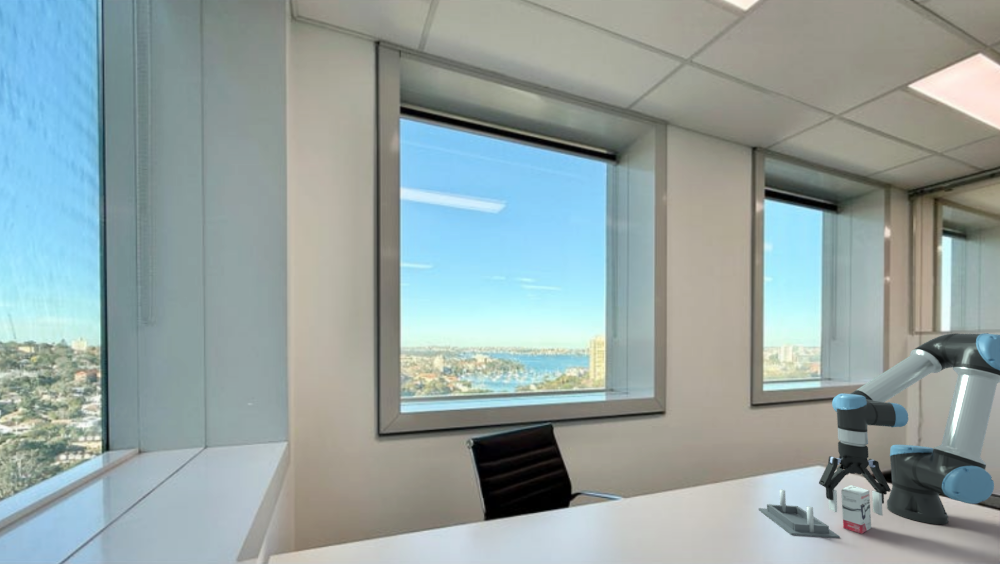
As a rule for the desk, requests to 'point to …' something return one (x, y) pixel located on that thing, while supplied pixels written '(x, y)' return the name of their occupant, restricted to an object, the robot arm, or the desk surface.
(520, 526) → the desk surface
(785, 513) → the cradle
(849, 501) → the ink box
